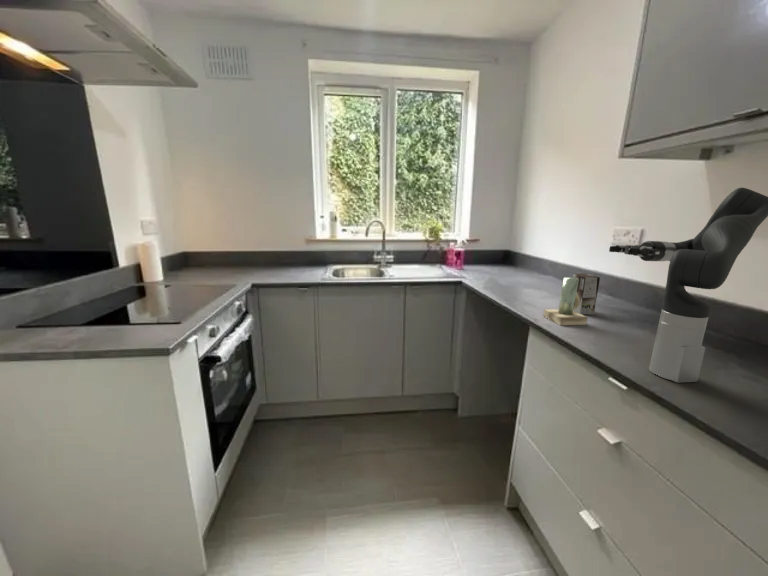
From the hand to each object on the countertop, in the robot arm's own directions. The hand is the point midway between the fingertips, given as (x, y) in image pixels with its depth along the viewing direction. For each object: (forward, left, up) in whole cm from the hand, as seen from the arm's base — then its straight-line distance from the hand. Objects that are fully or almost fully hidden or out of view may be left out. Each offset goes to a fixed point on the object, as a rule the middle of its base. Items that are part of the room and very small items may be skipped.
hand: (619, 250), depth 128 cm
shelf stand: (+5, +14, -29) cm, 32 cm away
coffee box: (+16, -2, -29) cm, 33 cm away
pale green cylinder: (+5, +14, -26) cm, 30 cm away
